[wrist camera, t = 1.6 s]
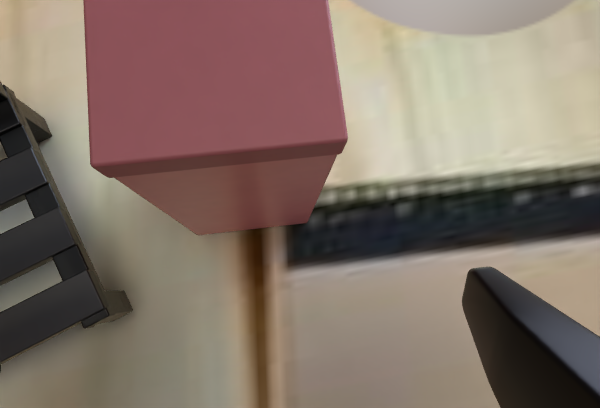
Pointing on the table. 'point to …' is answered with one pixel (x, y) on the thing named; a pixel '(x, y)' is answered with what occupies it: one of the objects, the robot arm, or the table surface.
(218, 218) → the pink box
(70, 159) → the table surface
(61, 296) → the rack
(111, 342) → the table surface
